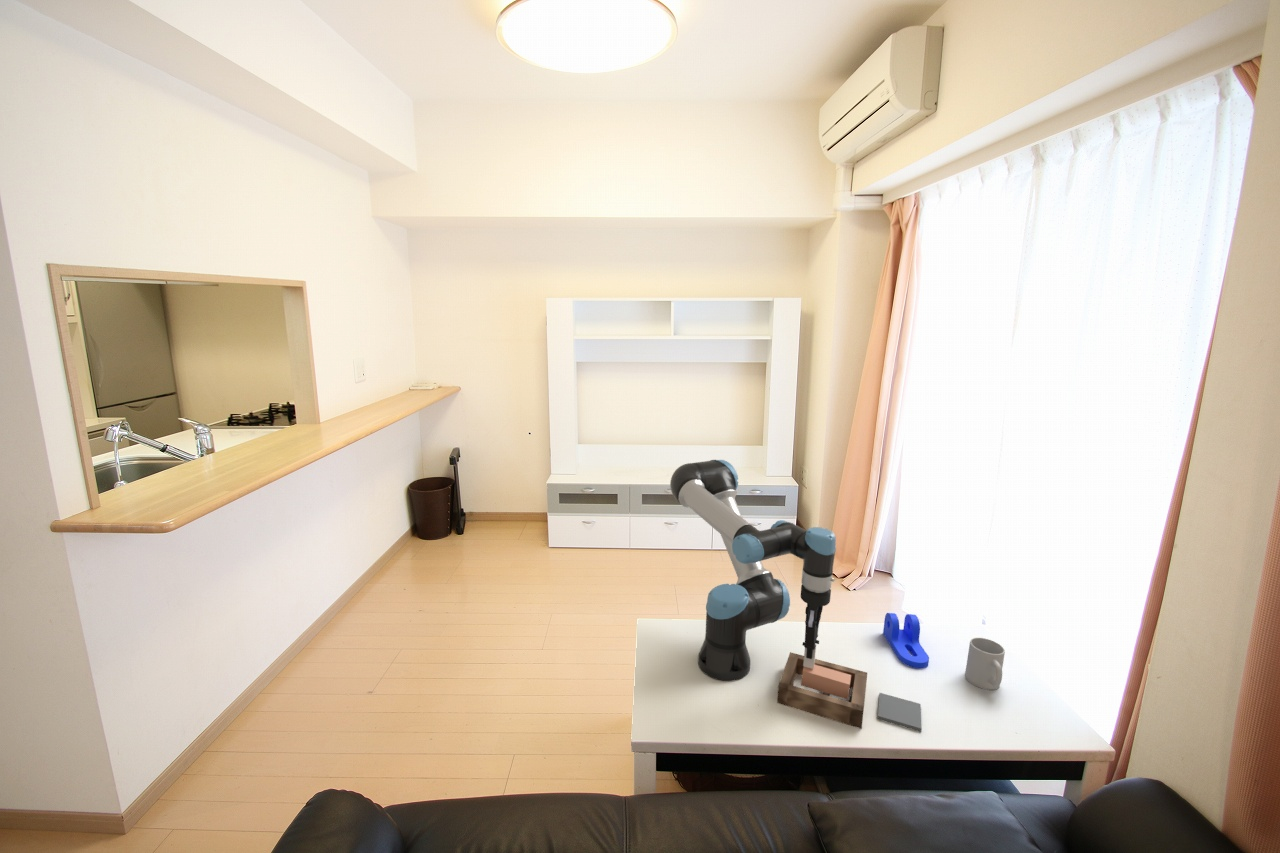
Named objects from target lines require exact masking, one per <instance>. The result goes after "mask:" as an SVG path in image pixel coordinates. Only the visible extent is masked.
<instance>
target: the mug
mask: <svg viewBox="0 0 1280 853" xmlns="http://www.w3.org/2000/svg"><path fill="white" fill-rule="evenodd" d="M1005 653H1006V651H1005V648H1004V646H1002V645H1001V644H1000V643H998V642H996V641H994V640H991V639H989V638H984V637H973V638H972V639H970V641H969V645H968V654H967V660H966V664H965V665H966V666H965V672H964V678H965V679H966V680H967V681H968V682H969V683H970V684H971V685H973V686H975V687H977V688H980V689H983V690H987V691H995V690H997V689H999V688H1000V685H1001V683H1002V680H1003V667H1004V661H1005V660H1004V659H1005Z"/></svg>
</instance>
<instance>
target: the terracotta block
mask: <svg viewBox="0 0 1280 853" xmlns="http://www.w3.org/2000/svg"><path fill="white" fill-rule="evenodd" d="M850 681H851V675H849V674H846V673H842V672H839V671H835V670H832V669H828V668H825V667H822V666H818V665H815V664H814V669H811V668H807V667H804V668H803V672H802V675H801V684H800V686H802V687H805V688H808V689H810V690H813V691H814V690H815V691H817V692H821V693H823V692H824V693H827V694H830V696H833V697H838V698H839V699H845V700H846V701H849V696H850V689H849V688H850Z"/></svg>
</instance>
